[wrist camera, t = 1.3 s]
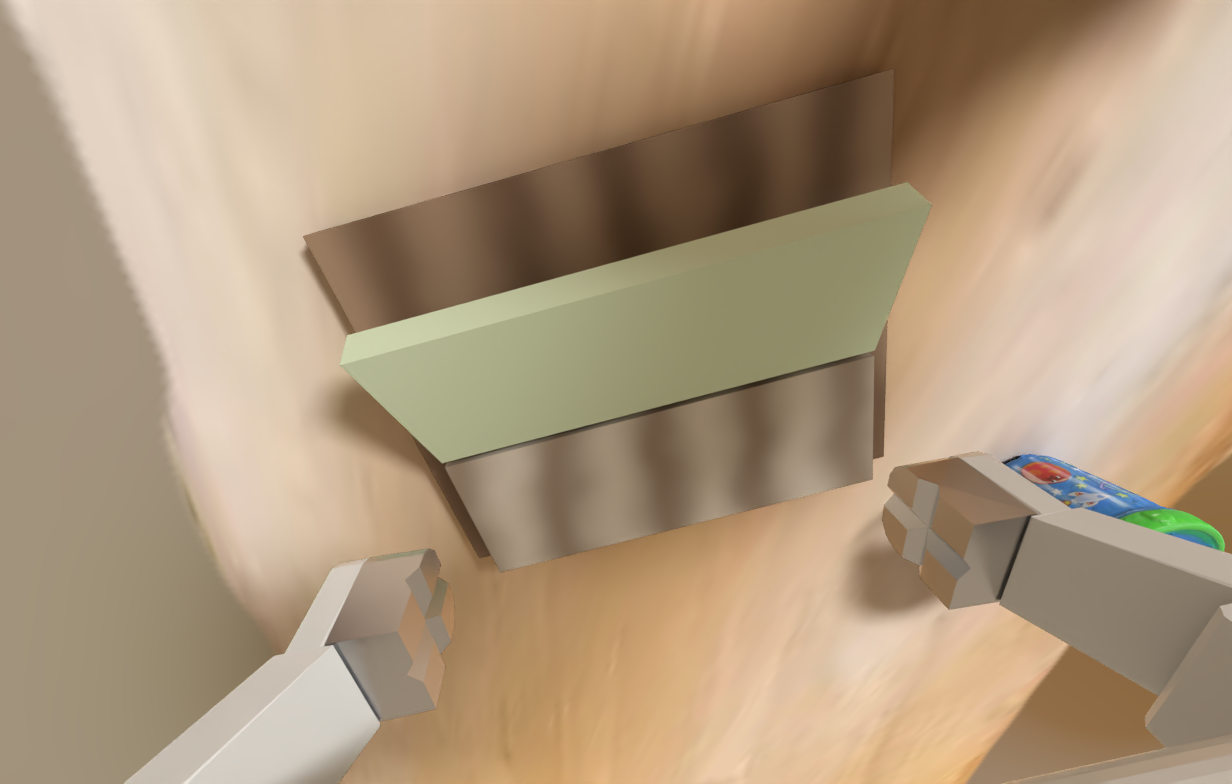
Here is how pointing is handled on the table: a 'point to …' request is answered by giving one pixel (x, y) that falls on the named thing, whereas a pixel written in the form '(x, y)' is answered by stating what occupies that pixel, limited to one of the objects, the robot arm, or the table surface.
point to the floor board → (613, 231)
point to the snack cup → (1111, 500)
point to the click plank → (645, 328)
